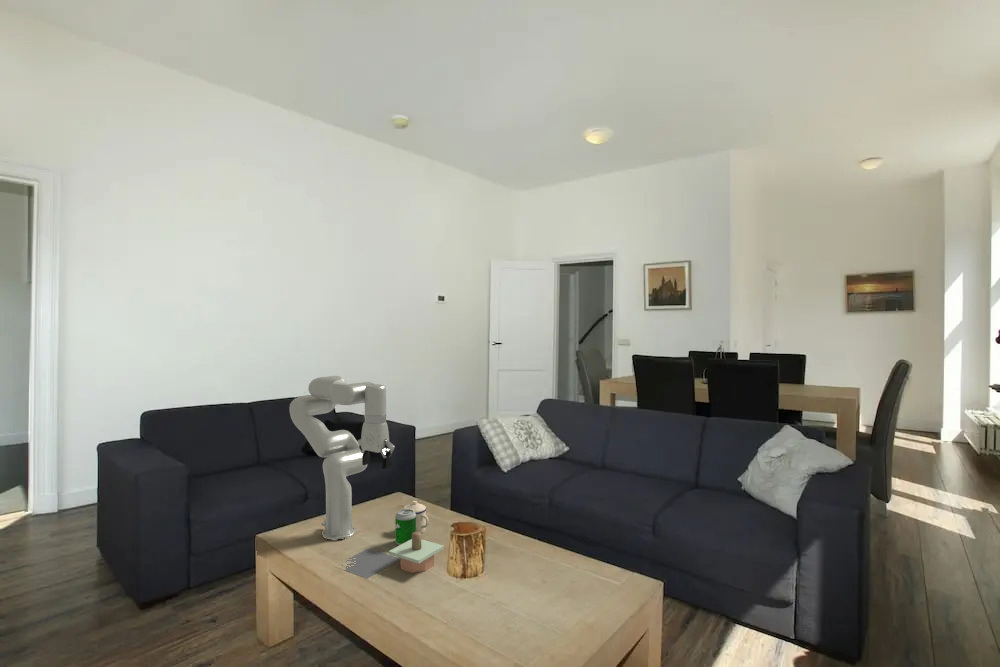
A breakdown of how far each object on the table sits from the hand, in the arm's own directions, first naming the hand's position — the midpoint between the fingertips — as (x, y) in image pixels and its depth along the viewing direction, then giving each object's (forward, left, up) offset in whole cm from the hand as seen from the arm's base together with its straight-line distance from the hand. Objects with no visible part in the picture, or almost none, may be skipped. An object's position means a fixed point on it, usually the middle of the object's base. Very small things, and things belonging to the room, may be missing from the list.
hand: (375, 466), depth 189 cm
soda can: (+6, +9, -31) cm, 32 cm away
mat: (+6, -10, -30) cm, 32 cm away
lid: (+21, -2, -25) cm, 33 cm away
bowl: (+21, -2, -30) cm, 37 cm away
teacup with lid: (+2, +20, -31) cm, 37 cm away
